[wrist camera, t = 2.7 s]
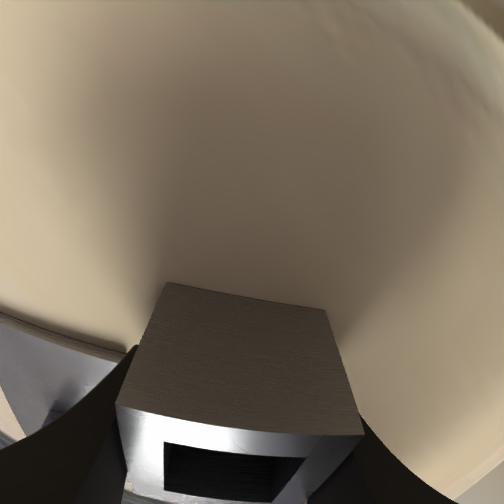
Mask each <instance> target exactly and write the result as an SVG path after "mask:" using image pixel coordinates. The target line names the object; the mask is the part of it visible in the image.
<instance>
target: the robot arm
mask: <svg viewBox="0 0 504 504" xmlns="http://www.w3.org/2000/svg"><path fill="white" fill-rule="evenodd" d="M138 346H139V345H135V346H133V347H132V348H131V349H130V351H129V352H128V353H127V354H126V355H125V356H124V357H123V359H122V360H121V361H120V362H119V363H118V364H117V365H116V366H115V367H114V368H113V369H112V370H111V372H110V373H109V374H107V375H106V376H105V377H104V378H103V379H102V380H101V381H100V382H99V383H98V384H97V385H96V386H95V387H94V388H93V389H92V390H91V391H90V392H89V393H87V394H86V395H85V396H84V397H83V398H82V399H81V400H79V401H78V402H77V403H76V404H75V405H73V406H72V407H71V408H70V409H68V410H67V411H66V412H65V413H63V414H62V415H60V416H59V417H58V418H56V419H55V420H53V421H52V422H50V423H49V424H47V425H46V426H44V427H43V428H41V429H39V430H38V431H36V432H34V433H33V434H31V435H29V436H27V437H26V438H24V439H22V440H20V441H18V442H15V443H13V444H11V445H9V446H7V447H5V448H3V449H1V450H0V504H121V500H122V495H123V490H124V485H125V480H126V476H127V473H128V470H127V465H126V461H125V456H124V452H123V447H122V442H121V437H120V431H119V426H118V420H117V414H116V408H115V402H116V400H117V397H118V395H119V392H120V390H121V387H122V385H123V382H124V380H125V377H126V375H127V372H128V370H129V367H130V365H131V362H132V360H133V358H134V355H135V353H136V351H137V348H138ZM359 416H360V419H361V423H362V426H363V429H364V433H365V435H364V437H363V438H362V439H361V440H360V441H359V443H358V444H357V445H356V446H355V448H354V449H353V450H352V451H351V452H350V453H349V455H348V456H347V457H346V458H345V459H344V460H343V462H342V463H341V464H340V465H339V466H338V467H337V468H336V469H335V471H334V472H333V473H332V474H331V475H330V476H329V477H328V478H327V479H326V480H325V481H324V482H323V483H322V484H321V485H320V487H319V488H318V489H317V490H316V491H315V492H314V493H313V494H312V495H311V496H310V497H309V498H308V499H307V504H458V503H456V502H454V501H452V500H451V499H449V498H447V497H446V496H444V495H442V494H441V493H439V492H438V491H436V490H435V489H433V488H432V487H430V486H429V485H428V484H426V483H425V482H424V481H422V480H421V479H420V478H419V477H417V476H416V475H415V474H414V473H412V472H411V471H410V470H409V469H408V468H407V467H406V466H405V465H404V464H402V463H401V462H400V461H399V460H398V459H397V458H396V457H395V456H394V455H393V454H392V453H391V452H390V451H389V449H388V448H387V447H386V446H385V445H384V444H383V443H382V442H381V440H380V439H379V438H378V437H377V436H376V435H375V433H374V432H373V431H372V430H371V428H370V427H369V426H368V425H367V423H366V422H365V421H364V419H363V418H362V417H361V415H360V414H359Z"/></svg>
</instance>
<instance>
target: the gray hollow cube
mask: <svg viewBox="0 0 504 504" xmlns="http://www.w3.org/2000/svg"><path fill="white" fill-rule="evenodd" d="M115 408H116V414H117V420H118V426H119V431H120V437H121V442H122V447H123V452H124V456H125V461H126V465H127V470H128V474H129V478H130V482H131V486H132V490H133V493H135V494H138V495H142V496H147V497H151V498H155V499H160V500H165V501H170V502H175V503H180V504H302V503H303V502H304V501H306V500H307V499H308V498H309V497H310V496H311V495H312V494H313V493H314V492H315V491H316V490H317V489H318V488H319V487H320V485H321V484H322V483H323V482H324V481H325V480H326V479H327V478H328V477H329V476H330V475H331V474H332V473H333V472H334V471H335V469H336V468H337V467H338V466H339V465H340V464H341V463H342V462H343V460H344V459H345V458H346V457H347V456H348V455H349V453H350V452H351V451H352V450H353V449H354V448H355V446H356V445H357V444H358V443H359V441H360V440H361V439H362V438H363V437H364V435H365V433H364V429H363V426H362V423H361V419H360V416H359V413H358V409H357V406H356V403H355V400H354V397H353V393H352V390H351V387H350V384H349V381H348V378H347V375H346V372H345V369H344V365H343V362H342V359H341V356H340V353H339V350H338V347H337V344H336V342H335V339H334V336H333V333H332V330H331V327H330V324H329V321H328V318H327V315H326V313H325V310H318V309H312V308H305V307H299V306H293V305H287V304H281V303H275V302H269V301H263V300H258V299H252V298H246V297H241V296H235V295H230V294H224V293H219V292H214V291H209V290H203V289H198V288H193V287H188V286H183V285H178V284H173V283H169V282H167V283H166V285H165V287H164V289H163V292H162V294H161V296H160V298H159V300H158V303H157V305H156V307H155V309H154V311H153V314H152V316H151V318H150V320H149V323H148V325H147V327H146V330H145V332H144V334H143V336H142V339H141V341H140V343H139V346H138V348H137V351H136V353H135V355H134V358H133V360H132V362H131V365H130V367H129V370H128V372H127V375H126V377H125V380H124V382H123V385H122V387H121V390H120V392H119V395H118V397H117V400H116V402H115Z"/></svg>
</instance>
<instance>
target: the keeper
mask: <svg viewBox="0 0 504 504" xmlns="http://www.w3.org/2000/svg"><path fill="white" fill-rule="evenodd" d="M125 355H126V354H123V353H119V352H116V351H112V350H108V349H105V348H101V347H98V346H94V345H91V344H88V343H84V342H81V341H78V340H75V339H72V338H68V337H65V336H62V335H59V334H56V333H53V332H50V331H48V330H45V329H42V328H39V327H36V326H34V325H31V324H28V323H25V322H23V321H20V320H18V319H15V318H13V317H10V316H8V315H5V314H3V313H0V386H1V388H2V390H3V392H4V395H5V397H6V399H7V401H8V403H9V405H10V407H11V409H12V411H13V413H14V415H15V417H16V419H17V420H18V422H19V424H20V426H21V428H22V430H23V431H24V433H25V435H26V437H27V436H29V435H31V434H33V433H34V432H36V431H38V430H39V429H41V428H43V427H44V426H46V425H47V424H49V423H50V422H52V421H53V420H55V419H56V418H58V417H59V416H60V415H62V414H63V413H65V412H66V411H67V410H68V409H70V408H71V407H72V406H73V405H75V404H76V403H77V402H78V401H79V400H81V399H82V398H83V397H84V396H85V395H86V394H87V393H89V392H90V391H91V390H92V389H93V388H94V387H95V386H96V385H97V384H98V383H99V382H100V381H101V380H102V379H103V378H104V377H105V376H106V375H107V374H109V373H110V372H111V370H112V369H113V368H114V367H115V366H116V365H117V364H118V363H119V362H120V361H121V360H122V359H123V357H124V356H125ZM125 481H126V482H130V478H129V474H128V473H127V476H126V480H125ZM130 483H131V482H130Z"/></svg>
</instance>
